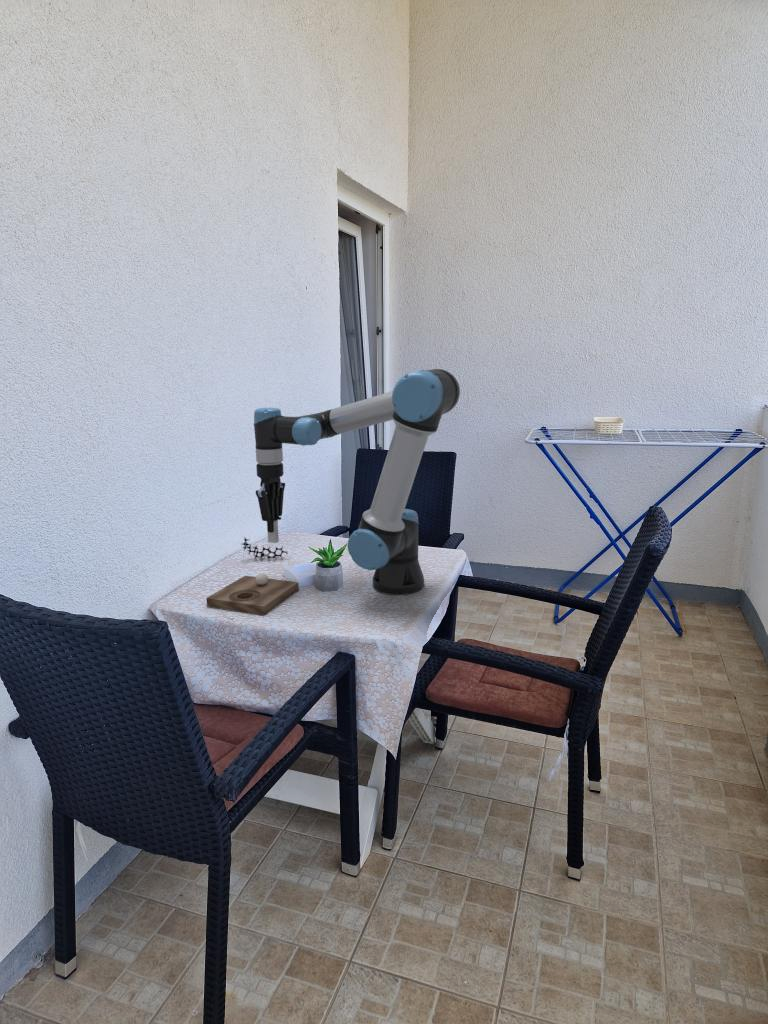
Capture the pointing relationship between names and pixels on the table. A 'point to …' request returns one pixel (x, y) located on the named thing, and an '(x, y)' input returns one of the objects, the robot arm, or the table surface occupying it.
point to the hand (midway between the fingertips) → (273, 541)
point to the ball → (261, 578)
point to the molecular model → (262, 550)
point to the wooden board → (253, 595)
